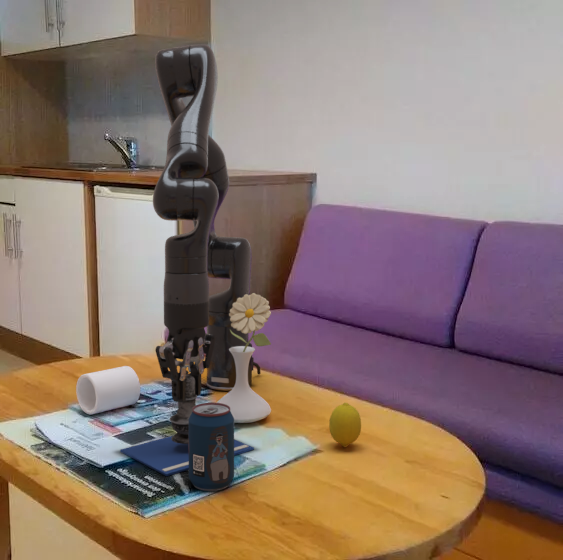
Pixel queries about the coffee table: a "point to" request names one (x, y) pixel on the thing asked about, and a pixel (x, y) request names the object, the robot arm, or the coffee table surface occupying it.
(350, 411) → the lemon
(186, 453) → the blue notebook
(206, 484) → the soda can
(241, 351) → the flower in vase
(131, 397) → the mug
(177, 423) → the dark grey turned piece
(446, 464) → the coffee table surface
